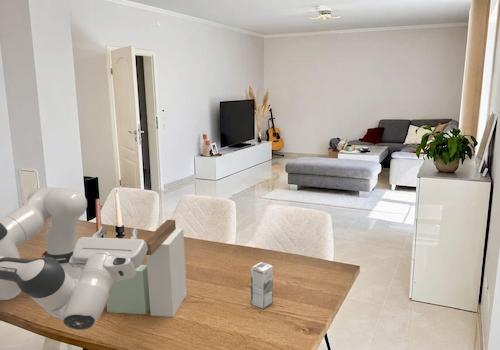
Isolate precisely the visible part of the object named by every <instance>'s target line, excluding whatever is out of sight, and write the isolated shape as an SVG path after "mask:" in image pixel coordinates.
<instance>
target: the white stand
mask: <svg viewBox="0 0 500 350" xmlns="http://www.w3.org/2000/svg"><path fill="white" fill-rule="evenodd" d="M184 235H185V234H184V228H179V227H176V229H175V230H174V231H173V233H172V234H171V235H170V236H169V237H168V238H167V239H166V240H165V241H164V242H163V243H162V244H161V245H160V247H159V248H158V249H157V250H156V251H155V252H154V253H153V254H152V255H145V257H146V265H147V272H148V285H149V299H150V309H149V312H150V313H149V314H150V316H151V317H152V316H155V317H165V318H167V317H168V318H169V317H171V318H174V316H175V315H176V313H177V312H178V310H179V308H180V306H181V305H182V303H183V301H184V299H185V298H186V296H187V295H188V294H187V291H188V290H187V275H186V274H187V273H186V260H185V259H186V256H185V255H186V254H185V240H184V239H185V238H184Z"/></svg>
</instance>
